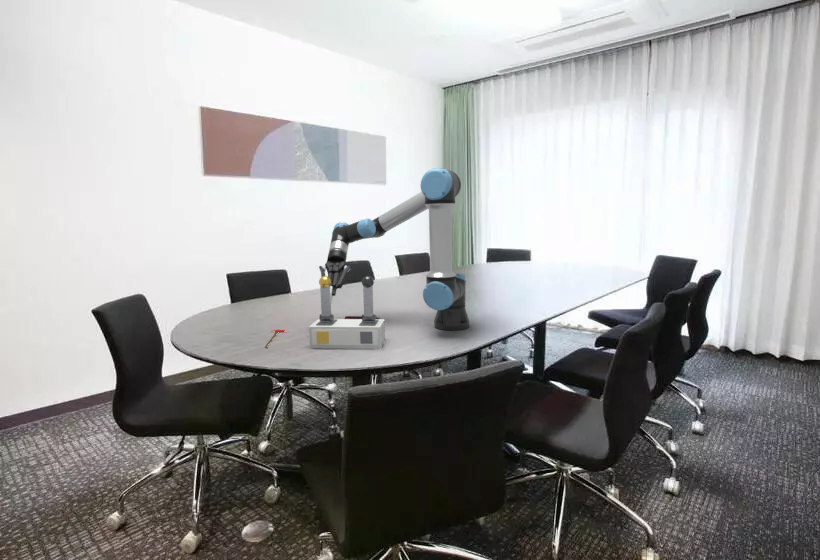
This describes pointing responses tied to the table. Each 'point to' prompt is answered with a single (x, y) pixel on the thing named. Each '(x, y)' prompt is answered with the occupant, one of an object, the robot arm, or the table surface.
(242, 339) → the table surface
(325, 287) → the lever amber
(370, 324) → the console
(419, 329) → the table surface
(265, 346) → the axe
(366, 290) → the lever black
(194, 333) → the table surface
